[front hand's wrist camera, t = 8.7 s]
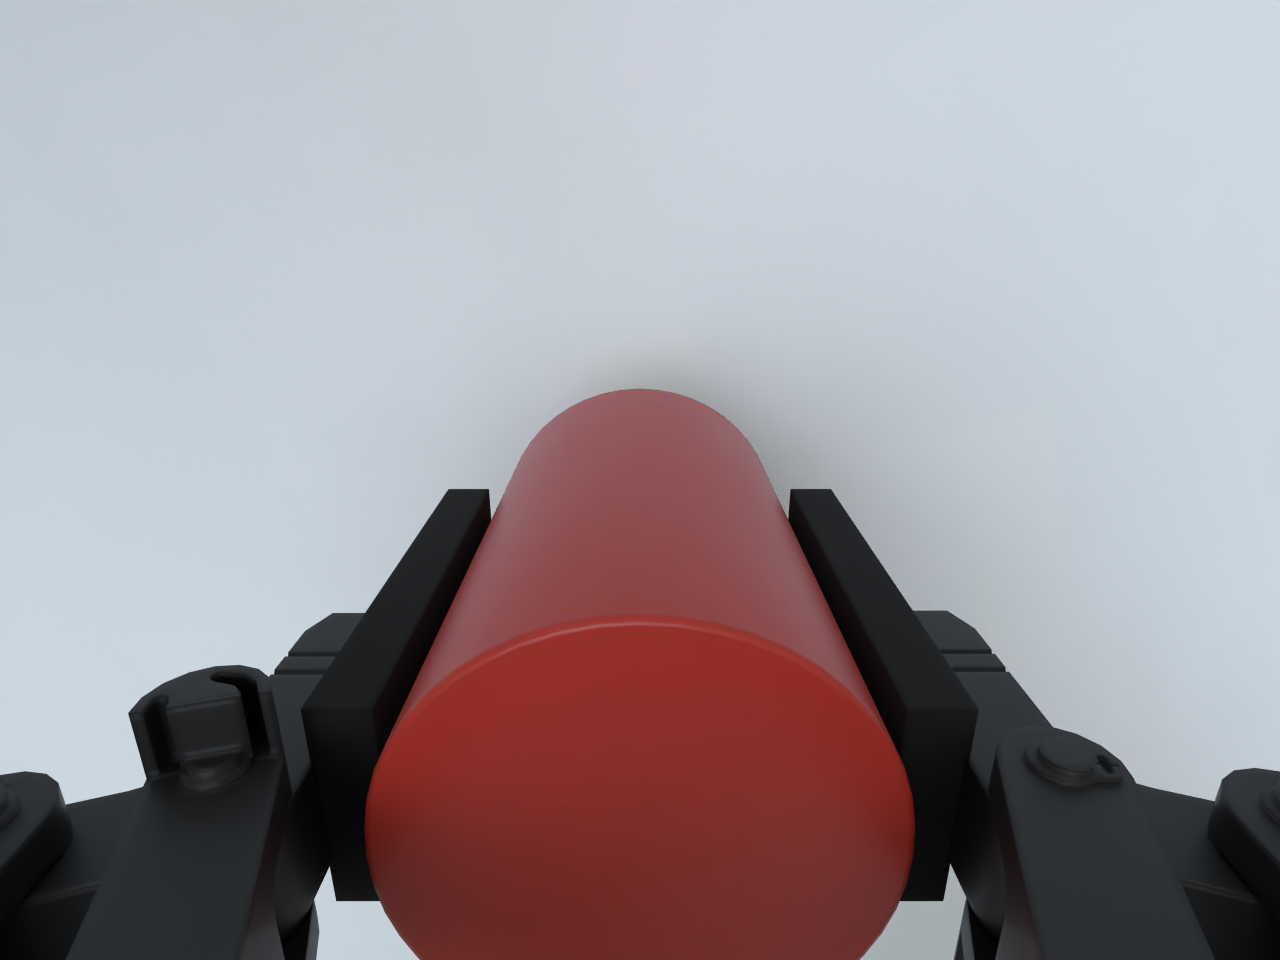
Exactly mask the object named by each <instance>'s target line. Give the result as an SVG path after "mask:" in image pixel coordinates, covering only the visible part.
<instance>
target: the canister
mask: <svg viewBox="0 0 1280 960" xmlns="http://www.w3.org/2000/svg"><path fill="white" fill-rule="evenodd" d="M364 833H365V844H366V856H367V862H368V866H369V870H370V874H371V878H372V882H373V885H374V888H375V891H376V893H377V895H378V897H379V900H380V902H381V904H382V907H383V909H384V911H385V913H386V915H387V916H388V918H389V919H390V921H391V923H392V924H393V926H394V927H395V929H396V931H397V932H398V934H399V935H400V937H401V938H402V939H403V940H404V942H405V943H406V944H407V945H408V946H409V948H410V949H411V950H412V951H413V952H414V953H415V955H416V956H417V957H418V958H419V959H420V960H859V959H860V958H861V957H863V956H864V954H865V953H866V952H867V951H868V949H869V948H870V947H871V946H872V945H873V943H874V942H875V941H876V940H877V938H878V937H879V936H880V935H881V933H882V932H883V930H884V928H885V927H886V925H887V924H888V922H889V920H890V919H891V917H892V915H893V914H894V912H895V910H896V908H897V906H898V903H899V901H900V899H901V896H902V894H903V891H904V889H905V887H906V884H907V880H908V876H909V872H910V868H911V864H912V859H913V852H914V838H915V814H914V805H913V795H912V792H911V788H910V785H909V781H908V777H907V774H906V770H905V767H904V765H903V763H902V761H901V758H900V756H899V754H898V752H897V750H896V748H895V746H894V744H893V741H892V739H891V737H890V735H889V733H888V731H887V729H886V727H885V725H884V722H883V720H882V718H881V716H880V714H879V712H878V710H877V708H876V705H875V703H874V701H873V699H872V697H871V695H870V693H869V691H868V688H867V686H866V684H865V682H864V680H863V678H862V676H861V674H860V671H859V669H858V667H857V665H856V663H855V661H854V659H853V657H852V655H851V652H850V650H849V648H848V646H847V644H846V642H845V640H844V638H843V635H842V633H841V631H840V629H839V627H838V625H837V623H836V621H835V618H834V616H833V614H832V612H831V610H830V608H829V606H828V604H827V601H826V599H825V597H824V595H823V593H822V591H821V589H820V587H819V585H818V582H817V580H816V578H815V576H814V574H813V572H812V570H811V568H810V565H809V563H808V561H807V559H806V557H805V555H804V553H803V551H802V548H801V546H800V544H799V542H798V540H797V538H796V536H795V534H794V531H793V529H792V527H791V525H790V523H789V521H788V519H787V517H786V515H785V512H784V510H783V508H782V506H781V504H780V502H779V500H778V498H777V495H776V493H775V491H774V489H773V487H772V485H771V483H770V481H769V478H768V476H767V474H766V472H765V470H764V468H763V466H762V464H761V462H760V459H759V457H758V455H757V454H756V452H755V450H754V449H753V447H752V446H751V444H750V443H749V441H748V440H747V439H746V438H745V437H744V435H743V434H742V433H741V432H740V431H739V430H738V429H737V428H736V427H735V426H734V425H733V424H732V423H731V422H729V421H728V420H727V419H726V418H725V417H724V416H722V415H721V414H719V413H718V412H716V411H715V410H713V409H712V408H710V407H708V406H706V405H704V404H702V403H700V402H698V401H696V400H694V399H691V398H688V397H685V396H682V395H679V394H676V393H671V392H666V391H661V390H651V389H629V390H619V391H614V392H609V393H604V394H600V395H598V396H595V397H592V398H589V399H586V400H584V401H582V402H580V403H578V404H576V405H574V406H572V407H570V408H568V409H567V410H565V411H564V412H562V413H561V414H559V415H558V416H556V417H555V418H554V419H552V420H551V421H550V422H549V423H548V424H547V425H546V426H545V427H544V428H542V429H541V431H540V432H539V433H538V434H537V435H536V436H535V438H534V439H533V440H532V441H531V442H530V444H529V445H528V447H527V449H526V450H525V452H524V453H523V455H522V456H521V459H520V461H519V463H518V465H517V467H516V469H515V471H514V473H513V476H512V478H511V480H510V482H509V484H508V486H507V488H506V490H505V492H504V495H503V497H502V499H501V501H500V503H499V505H498V507H497V509H496V511H495V514H494V516H493V518H492V520H491V522H490V524H489V526H488V528H487V530H486V533H485V535H484V537H483V539H482V541H481V543H480V545H479V547H478V550H477V552H476V554H475V556H474V558H473V560H472V562H471V564H470V566H469V569H468V571H467V573H466V575H465V577H464V579H463V581H462V583H461V585H460V588H459V590H458V592H457V594H456V596H455V598H454V600H453V602H452V604H451V607H450V609H449V611H448V613H447V615H446V617H445V619H444V621H443V623H442V626H441V628H440V630H439V632H438V634H437V636H436V638H435V640H434V643H433V645H432V647H431V649H430V651H429V653H428V655H427V657H426V659H425V662H424V664H423V666H422V668H421V670H420V672H419V674H418V676H417V678H416V681H415V683H414V685H413V687H412V689H411V691H410V693H409V695H408V697H407V700H406V702H405V704H404V706H403V708H402V710H401V712H400V714H399V717H398V719H397V721H396V723H395V725H394V727H393V729H392V731H391V733H390V736H389V738H388V740H387V742H386V744H385V746H384V749H383V751H382V753H381V755H380V757H379V760H378V762H377V764H376V766H375V769H374V771H373V775H372V779H371V783H370V786H369V790H368V794H367V798H366V809H365V821H364Z"/></svg>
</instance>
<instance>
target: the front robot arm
mask: <svg viewBox="0 0 1280 960" xmlns="http://www.w3.org/2000/svg"><path fill="white" fill-rule="evenodd" d="M788 521H789V523H790V525H791V527H792V529H793V531H794V534H795V536H796V538H797V540H798V542H799V544H800V546H801V548H802V551H803V553H804V555H805V557H806V559H807V561H808V563H809V565H810V568H811V570H812V572H813V574H814V576H815V578H816V580H817V582H818V585H819V587H820V589H821V591H822V593H823V595H824V597H825V599H826V601H827V604H828V606H829V608H830V610H831V612H832V614H833V616H834V618H835V621H836V623H837V625H838V627H839V629H840V631H841V633H842V635H843V638H844V640H845V642H846V644H847V646H848V648H849V650H850V652H851V655H852V657H853V659H854V661H855V663H856V665H857V667H858V669H859V671H860V674H861V676H862V678H863V680H864V682H865V684H866V686H867V688H868V691H869V693H870V695H871V697H872V699H873V701H874V703H875V705H876V708H877V710H878V712H879V714H880V716H881V718H882V720H883V722H884V725H885V727H886V729H887V731H888V733H889V735H890V737H891V739H892V741H893V744H894V746H895V748H896V750H897V752H898V754H899V756H900V758H901V761H902V763H903V765H904V767H905V770H906V774H907V777H908V781H909V785H910V788H911V792H912V795H913V805H914V814H915V838H914V852H913V859H912V864H911V868H910V872H909V876H908V880H907V884H906V887H905V889H904V891H903V894H902V896H901V899H900V901H943V899H944V894H945V889H946V883H947V878H948V872H949V867H950V864H951V866H952V868H953V870H954V872H955V874H956V876H957V878H958V881H959V883H960V885H961V887H962V889H963V891H964V893H965V895H966V902H965V907H964V912H963V917H962V922H961V927H960V932H959V937H958V942H957V947H956V952H955V957H954V960H1280V772H1279V771H1272V770H1266V769H1259V768H1251V769H1242V770H1234V771H1233V772H1231V773H1230V774H1229V775H1227V776H1226V777H1225V778H1224V779H1222V782H1221V785H1220V788H1219V791H1218V794H1217V797H1216V800H1215V801H1210V800H1206V799H1201V798H1196V797H1192V796H1187V795H1182V794H1178V793H1173V792H1168V791H1164V790H1159V789H1155V788H1150V787H1147V786H1143V785H1140V784H1136V782H1135V780H1134V778H1133V777H1132V775H1131V774H1130V773H1129V771H1128V770H1127V768H1126V767H1125V766H1124V764H1123V763H1122V762H1121V761H1120V760H1119V759H1118V758H1116V757H1115V756H1114V755H1113V754H1111V753H1110V752H1109V751H1107V750H1106V749H1105V748H1103V747H1102V746H1101V745H1099V744H1097V743H1094V742H1092V741H1090V740H1088V739H1086V738H1084V737H1082V736H1080V735H1078V734H1075V733H1072V732H1068V731H1064V730H1061V729H1057V728H1053V727H1052V725H1051V724H1050V723H1049V722H1048V720H1047V719H1046V718H1045V717H1044V715H1043V714H1042V713H1041V712H1040V710H1039V709H1038V708H1037V707H1036V705H1035V704H1034V703H1033V701H1032V700H1031V699H1030V698H1029V696H1028V695H1027V694H1026V693H1025V691H1024V690H1023V689H1022V688H1021V686H1020V685H1019V684H1018V683H1017V681H1016V680H1015V679H1014V677H1013V676H1012V675H1011V674H1010V672H1006V670H1005V666H1004V665H1003V664H1002V662H1001V661H1000V660H999V659H998V657H997V656H996V655H995V654H992V650H991V648H990V647H989V646H988V645H987V643H986V642H985V641H984V640H983V638H982V637H981V636H980V635H979V633H978V632H977V631H976V629H975V628H973V627H971V626H970V625H968V624H967V623H965V622H964V621H962V620H961V619H959V618H957V617H956V616H954V615H953V614H951V613H950V612H948V611H913V610H912V609H911V607H910V606H909V605H908V603H907V602H906V600H905V599H904V597H903V596H902V594H901V593H900V591H899V590H898V588H897V587H896V585H895V584H894V582H893V581H892V579H891V578H890V576H889V575H888V573H887V572H886V570H885V569H884V567H883V566H882V564H881V563H880V561H879V560H878V558H877V557H876V555H875V554H874V553H873V551H872V550H871V548H870V547H869V545H868V544H867V542H866V541H865V539H864V538H863V536H862V535H861V533H860V532H859V530H858V529H857V527H856V526H855V524H854V523H853V521H852V520H851V518H850V517H849V515H848V514H847V512H846V511H845V509H844V508H843V506H842V505H841V504H840V502H839V501H838V499H837V498H836V496H835V495H834V493H833V492H832V490H831V489H791V491H790V505H789V518H788ZM490 522H491V511H490V498H489V489H448V491H447V492H446V494H445V495H444V497H443V498H442V500H441V501H440V503H439V504H438V506H437V507H436V509H435V510H434V512H433V513H432V515H431V516H430V518H429V519H428V521H427V522H426V524H425V525H424V527H423V528H422V529H421V531H420V532H419V534H418V535H417V537H416V538H415V540H414V541H413V543H412V544H411V546H410V547H409V549H408V550H407V552H406V553H405V555H404V556H403V558H402V559H401V561H400V562H399V564H398V565H397V567H396V568H395V570H394V571H393V573H392V574H391V576H390V577H389V578H388V580H387V581H386V583H385V584H384V586H383V587H382V589H381V590H380V592H379V593H378V595H377V596H376V598H375V599H374V601H373V602H372V604H371V605H370V607H369V608H368V610H367V611H366V613H332V614H331V615H329V616H328V617H326V618H325V619H323V620H322V621H320V622H318V623H317V624H315V625H314V626H312V627H311V628H309V629H308V630H306V631H305V632H304V633H303V634H302V636H301V637H300V638H299V640H298V641H297V642H296V643H295V645H294V646H293V647H292V648H291V650H290V651H289V652H288V657H284V659H283V660H282V661H281V662H280V664H279V665H278V666H277V667H276V669H275V672H274V675H270V676H269V677H268V676H267V675H265V674H264V673H263V672H262V671H260V670H259V669H256V668H252V667H247V666H242V665H230V666H215V667H210V668H206V669H202V670H198V671H194V672H189V673H187V674H184V675H182V676H180V677H177V678H175V679H173V680H170V681H168V682H165V683H163V684H162V685H160V686H158V687H157V688H155V689H154V690H152V691H151V692H149V693H148V694H146V695H145V696H143V697H142V698H141V699H140V700H139V701H138V702H137V704H136V705H135V706H134V707H133V708H132V709H131V711H130V712H129V713H128V714H129V718H130V721H131V725H132V729H133V732H134V736H135V739H136V743H137V746H138V750H139V753H140V757H141V760H142V764H143V768H144V771H145V775H146V778H147V779H146V782H145V784H144V786H143V787H141V788H138V789H134V790H131V791H127V792H122V793H117V794H113V795H108V796H104V797H99V798H94V799H90V800H85V801H81V802H76V803H71V804H67V805H65V802H64V799H63V796H62V793H61V790H60V787H59V784H58V782H56V781H55V780H54V779H52V778H51V777H50V776H49V775H47V774H43V773H34V772H26V771H25V772H18V773H11V774H5V775H0V960H316V955H317V947H318V938H319V925H318V918H317V912H316V907H315V902H314V898H315V896H316V894H317V892H318V890H319V888H320V885H321V883H322V881H323V879H324V877H325V875H326V873H327V871H328V868H329V866H330V870H331V875H332V881H333V886H334V891H335V897H336V901H380V900H379V897H378V895H377V893H376V891H375V888H374V885H373V882H372V878H371V874H370V870H369V866H368V862H367V856H366V844H365V833H364V821H365V809H366V798H367V794H368V790H369V786H370V783H371V779H372V775H373V771H374V769H375V766H376V764H377V762H378V760H379V757H380V755H381V753H382V751H383V749H384V746H385V744H386V742H387V740H388V738H389V736H390V733H391V731H392V729H393V727H394V725H395V723H396V721H397V719H398V717H399V714H400V712H401V710H402V708H403V706H404V704H405V702H406V700H407V697H408V695H409V693H410V691H411V689H412V687H413V685H414V683H415V681H416V678H417V676H418V674H419V672H420V670H421V668H422V666H423V664H424V662H425V659H426V657H427V655H428V653H429V651H430V649H431V647H432V645H433V643H434V640H435V638H436V636H437V634H438V632H439V630H440V628H441V626H442V623H443V621H444V619H445V617H446V615H447V613H448V611H449V609H450V607H451V604H452V602H453V600H454V598H455V596H456V594H457V592H458V590H459V588H460V585H461V583H462V581H463V579H464V577H465V575H466V573H467V571H468V569H469V566H470V564H471V562H472V560H473V558H474V556H475V554H476V552H477V550H478V547H479V545H480V543H481V541H482V539H483V537H484V535H485V533H486V530H487V528H488V526H489V524H490Z"/></svg>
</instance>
